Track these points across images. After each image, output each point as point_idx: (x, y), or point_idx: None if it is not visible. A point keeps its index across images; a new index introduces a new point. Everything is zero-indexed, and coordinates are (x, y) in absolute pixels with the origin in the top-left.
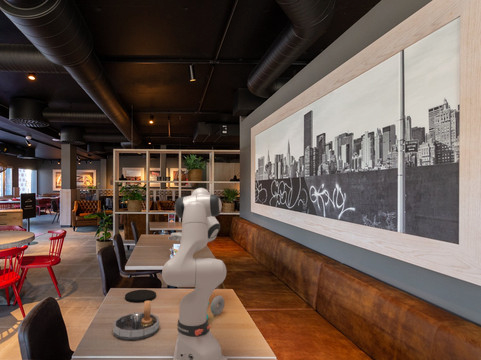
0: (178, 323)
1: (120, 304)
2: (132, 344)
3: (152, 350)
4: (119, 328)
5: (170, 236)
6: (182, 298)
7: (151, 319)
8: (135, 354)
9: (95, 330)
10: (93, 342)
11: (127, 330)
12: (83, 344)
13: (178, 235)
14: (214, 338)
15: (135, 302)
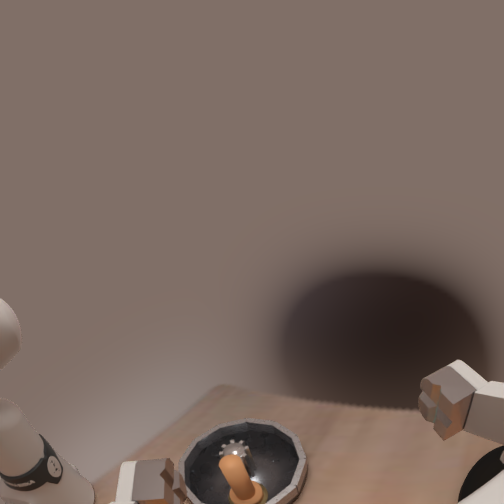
0: (39, 434)
1: (457, 447)
2: (184, 451)
3: None
4: (227, 425)
5: (470, 378)
6: (9, 402)
7: (236, 501)
8: (147, 444)
9: (300, 406)
10: (245, 402)
11: (204, 435)
12: (249, 390)
13: (468, 496)
14: (1, 486)
15: (462, 485)
